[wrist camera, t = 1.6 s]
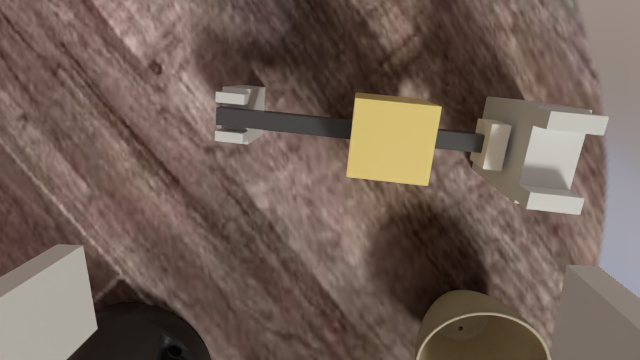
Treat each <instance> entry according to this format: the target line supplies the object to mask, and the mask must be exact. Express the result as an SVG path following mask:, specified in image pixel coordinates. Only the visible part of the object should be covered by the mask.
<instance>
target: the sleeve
mask: <svg viewBox="0 0 640 360" xmlns="http://www.w3.org/2000/svg"><path fill="white" fill-rule="evenodd" d="M441 109H442V106H439V105H436V104H434V103H431V102H428V101H426V100H423V99H419V98H409V97H399V96H389V95H379V94H369V93H358V92H355V100H354V108H353V117H352V129H351V138H350V143H349V152H348V163H347V174H346V177H352V178H361V179H370V180H379V181H388V182H397V183H406V184H415V185H424V186H428V182H429V177H430V171H431V165H432V160H433V154H434V148H435V143H436V137H437V131H438V126H439V120H440V115H441Z"/></svg>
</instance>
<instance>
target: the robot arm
mask: <svg viewBox="0 0 640 360" xmlns="http://www.w3.org/2000/svg"><path fill="white" fill-rule="evenodd" d="M549 355H550V357H551V358H552V360H640V298H638V297H637V296H636V295H635V294H633V293H632V292H631V291H629V290H628V289H627V288H625V287H624V286H623V285H622V284H620V283H619V282H618V281H616V280H615V279H614V278H612V277H611V276H610V275H609V274H607V273H606V272H605V271H604V270H602V269H601V268H600V267H598V266H583V265H567V266H566V271H565V276H564V281H563V287H562V292H561V297H560V302H559V307H558V313H557V318H556V323H555V328H554V333H553V339H552V344H551V349H550V354H549ZM0 360H211V358H210V355H209V353H208V351H207V348H206V347H205V345H204V343H203V342H202V340H201V339H200V337H199V336H198V335H197V334H196V332H195V331H194V330H193V329H192V328H191V327H190V326H189V325H187V324H186V323H185V322H184V321H183V320H181V319H180V318H178V317H177V316H175V315H173V314H171V313H170V312H168V311H165V310H163V309H161V308H158V307H155V306H151V305H147V304H141V303H120V304H115V305H111V306H108V307H105V308H103V309H101V310H99V311H98V312H96V313H95V311H94V305H93V300H92V294H91V288H90V282H89V276H88V271H87V265H86V259H85V253H84V248H83V245H66V244H57V245H55V246H54V247H52V248H50V249H48V250H47V251H45V252H43V253H41V254H40V255H38V256H36V257H34V258H33V259H31V260H29V261H27V262H26V263H24V264H22V265H20V266H19V267H17V268H15V269H13V270H12V271H10V272H8V273H6V274H5V275H3V276H1V277H0Z"/></svg>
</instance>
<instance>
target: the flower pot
mask: <svg viewBox="0 0 640 360" xmlns="http://www.w3.org/2000/svg"><path fill="white" fill-rule="evenodd" d="M461 327H462V329H461ZM549 354H550V352H549V349H548V347H547V345H546V343H545V341H544V340H543V338H542V337H541V335H540V334H539V333H538V332H537V331H536V330H535V329H534V328H533V327H532V326H531V325H530V324H529V323H528V322H527V321H526V320H525V319H524V318H523V317H522V316H520V315H519V314H518V313H517V312H515V311H514V310H513V309H511V308H510V307H508V306H507V305H505V304H504V303H502V302H500V301H498V300H496V299H494V298H492V297H490V296H488V295H485V294H482V293H479V292H475V291H470V290H454V291H450V292H447V293H445V294H443V295H442V296H440V297H439V298H438V299H437V300H436V301H435V302H434V303H433V304H432V305H431V307H430V308H429V309H428V311H427V313H426V315H425V316H424V319H423V321H422V323H421V326H420V329H419V333H418V337H417V343H416V351H415V360H551V357H550V355H549Z"/></svg>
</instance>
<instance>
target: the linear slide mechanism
mask: <svg viewBox="0 0 640 360" xmlns="http://www.w3.org/2000/svg"><path fill="white" fill-rule="evenodd" d="M216 102H220V103H222V106H221V107H217V108H216V125H222V128H221V129H218V130H216V131H215V141H221V142H230V143H240V144H249V143H251V142H252V141H254V140H255V139H257V138H258V137H260V136H261V135H263V130H269V131H279V132H288V133H297V134H307V135H316V136H326V137H335V138H344V139H350V138H351V129H352V120H350V119H340V118H331V117H321V116H311V115H301V114H292V113H282V112H272V111H264V105H265V87H260V86H250V85H234V86H224V87H223V91H218V92H216ZM591 113H592V110H587V109H581V108H574V107H568V106H561V105H554V104H548V103H541V102H535V101H528V100H520V99H510V98H499V97H489V96H487V98H486V103H485V108H484V112H483V117H482V119H478V121H477V126H476V131H475V132H466V131H456V130H447V129H438V131H437V137H436V143H435V148H438V149H448V150H457V151H467V152H471V156H470V160H471V161H473V165H472V169H473V170H474V171H475V172H477V173H478V174H479V175H480V176H482V177H483V178H484V179H485V180H487V181H488V182H489V183H490V184H492V185H493V186H494V187H495V188H496V189H498V190H499V191H500V192H501V193H503V194H504V195H505V196H506V197H508V198H509V199H510V200H511V201H512V202H514V203H519V204H521V205H522V206H523V207H525V208H526V209H533V210H542V211H550V212H559V213H568V214H577V215H580V213H581V209H582V206H583V203H584V199H585V198H583V197H581V196H580V195H578V194H576V193H574V192H572V191H570V187H571V183H572V180H573V176H574V173H575V169H576V166H577V162H578V159H579V155H580V152H581V148H582V145H583V141H584V138H585V134H595V135H604V132H605V129H606V125H607V122H608V119H609V117H607V116H601V115H595V114H591Z"/></svg>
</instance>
